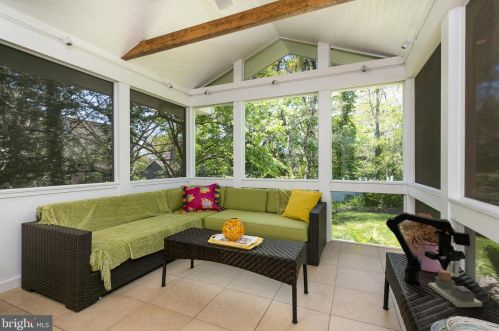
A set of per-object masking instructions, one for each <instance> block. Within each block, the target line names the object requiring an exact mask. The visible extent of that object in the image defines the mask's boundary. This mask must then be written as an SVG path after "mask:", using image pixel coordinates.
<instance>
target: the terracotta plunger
mask: <svg viewBox="0 0 499 331" xmlns="http://www.w3.org/2000/svg"><path fill="white" fill-rule="evenodd" d="M437 277H438V278H439V279H441V280H442V281H444V282H451V280H452V277H451V273H450V272H448V271H447V269H446V270H443V269H439V270H438V269H437Z"/></svg>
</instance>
